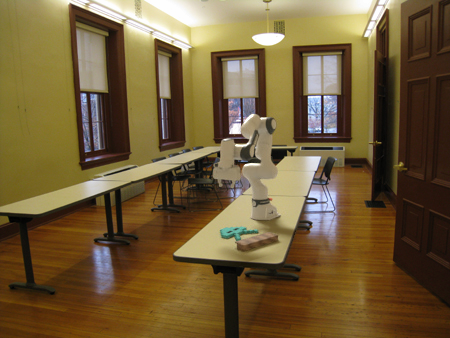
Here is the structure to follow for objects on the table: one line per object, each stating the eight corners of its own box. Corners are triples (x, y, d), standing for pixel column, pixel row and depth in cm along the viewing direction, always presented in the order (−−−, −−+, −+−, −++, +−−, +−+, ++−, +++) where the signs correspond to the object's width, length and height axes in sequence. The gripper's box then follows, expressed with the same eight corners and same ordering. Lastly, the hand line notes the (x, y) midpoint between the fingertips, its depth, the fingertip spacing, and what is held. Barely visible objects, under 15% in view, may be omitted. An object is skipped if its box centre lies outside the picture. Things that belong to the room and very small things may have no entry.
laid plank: (268, 237, 218) (268, 231, 218) (278, 240, 212) (278, 235, 212) (234, 247, 203) (234, 241, 203) (243, 251, 197) (243, 245, 196)
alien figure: (258, 233, 228) (233, 227, 240) (258, 229, 227) (232, 224, 240) (238, 242, 212) (213, 236, 225) (238, 238, 212) (212, 232, 225)
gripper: (243, 165, 220) (242, 188, 221) (218, 164, 234) (217, 185, 234) (236, 165, 216) (236, 188, 216) (211, 164, 229) (211, 186, 230)
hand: (226, 187), depth 225 cm, fingers open, 8 cm apart
